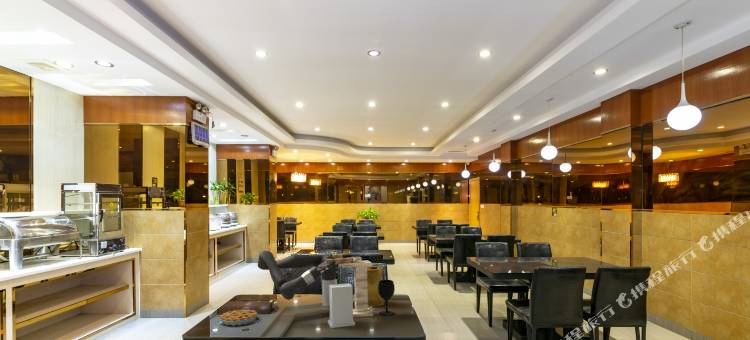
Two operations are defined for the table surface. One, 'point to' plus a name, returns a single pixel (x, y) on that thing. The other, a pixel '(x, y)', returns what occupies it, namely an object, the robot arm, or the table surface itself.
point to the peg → (344, 260)
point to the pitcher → (374, 285)
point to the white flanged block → (341, 305)
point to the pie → (238, 317)
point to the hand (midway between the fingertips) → (333, 260)
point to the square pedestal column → (360, 288)
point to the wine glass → (386, 294)
